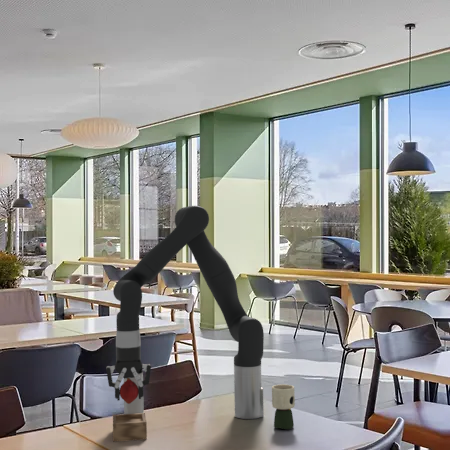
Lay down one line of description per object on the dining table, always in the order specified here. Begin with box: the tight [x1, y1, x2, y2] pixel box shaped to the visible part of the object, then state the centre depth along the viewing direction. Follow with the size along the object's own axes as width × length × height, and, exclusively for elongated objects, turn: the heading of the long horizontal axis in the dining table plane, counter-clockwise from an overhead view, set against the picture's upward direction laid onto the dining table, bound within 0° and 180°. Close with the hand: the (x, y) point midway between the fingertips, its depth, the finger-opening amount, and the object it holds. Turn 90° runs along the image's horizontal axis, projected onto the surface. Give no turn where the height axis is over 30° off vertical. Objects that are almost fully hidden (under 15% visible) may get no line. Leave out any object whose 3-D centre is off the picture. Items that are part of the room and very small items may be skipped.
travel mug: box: [123, 362, 145, 414], centre depth 211 cm, size 6×7×20 cm
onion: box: [119, 378, 139, 404], centre depth 199 cm, size 6×6×8 cm
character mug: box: [271, 384, 296, 430], centre depth 204 cm, size 11×7×13 cm, turn 169°
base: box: [112, 412, 148, 443], centre depth 199 cm, size 10×10×5 cm
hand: (129, 399), depth 199 cm, fingers closed on onion, 6 cm apart
